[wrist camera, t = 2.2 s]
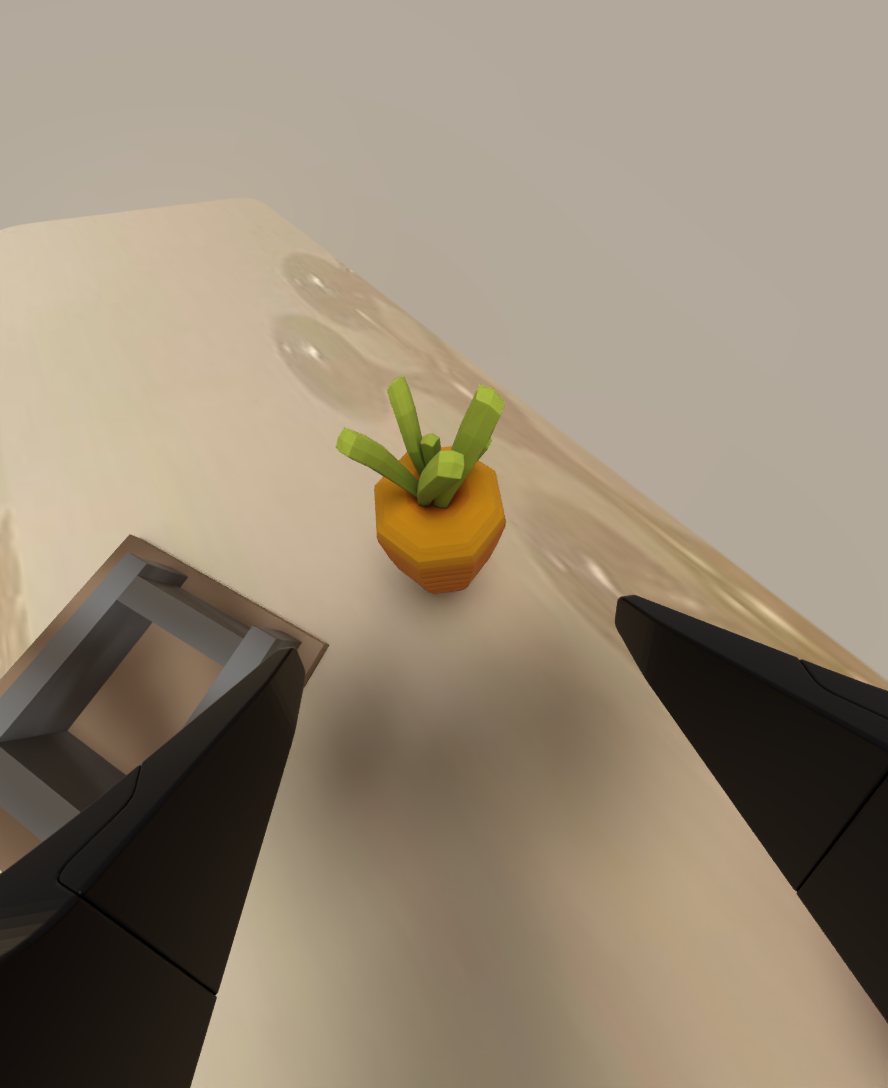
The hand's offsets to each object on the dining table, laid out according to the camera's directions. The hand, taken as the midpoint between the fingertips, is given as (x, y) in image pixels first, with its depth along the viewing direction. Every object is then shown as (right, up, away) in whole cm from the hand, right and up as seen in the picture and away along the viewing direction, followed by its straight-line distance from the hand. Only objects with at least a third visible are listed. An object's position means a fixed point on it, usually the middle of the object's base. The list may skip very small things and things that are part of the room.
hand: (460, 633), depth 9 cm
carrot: (0, 0, +12) cm, 12 cm away
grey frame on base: (-18, -7, +10) cm, 22 cm away
